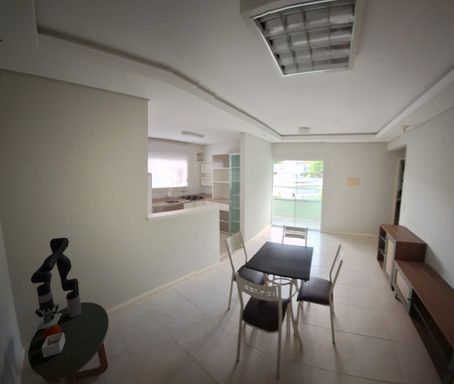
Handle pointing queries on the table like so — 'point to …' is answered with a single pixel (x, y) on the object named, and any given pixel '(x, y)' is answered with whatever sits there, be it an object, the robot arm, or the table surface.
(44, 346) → the storage box
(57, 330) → the apple
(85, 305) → the table surface
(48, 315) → the lid
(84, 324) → the table surface
